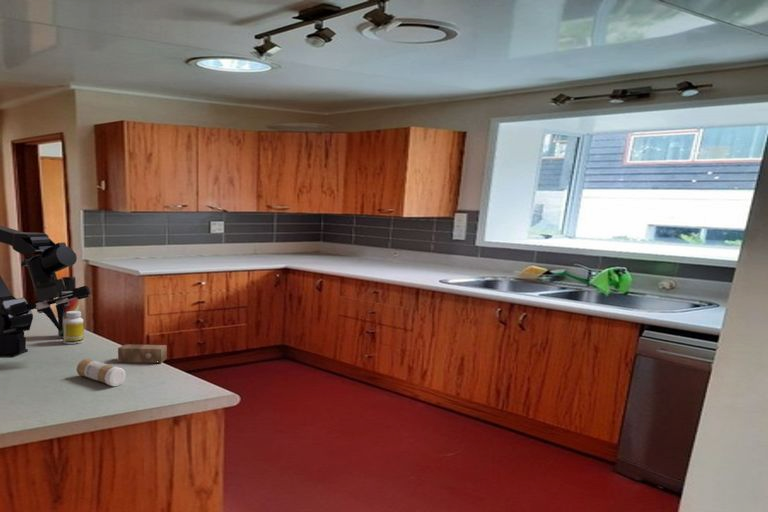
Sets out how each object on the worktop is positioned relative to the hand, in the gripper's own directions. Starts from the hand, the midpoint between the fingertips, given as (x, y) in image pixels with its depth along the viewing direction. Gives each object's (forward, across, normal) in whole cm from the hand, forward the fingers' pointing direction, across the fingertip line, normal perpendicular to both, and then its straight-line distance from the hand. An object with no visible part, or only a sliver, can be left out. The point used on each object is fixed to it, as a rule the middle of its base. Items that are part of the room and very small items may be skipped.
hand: (61, 330), depth 137 cm
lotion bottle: (+1, 0, +31) cm, 31 cm away
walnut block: (+11, +12, +1) cm, 16 cm away
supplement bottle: (+3, +1, +24) cm, 24 cm away
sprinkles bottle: (+11, +3, -10) cm, 15 cm away
